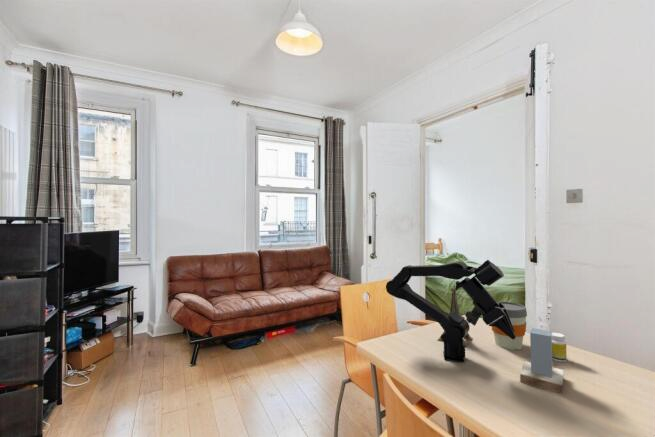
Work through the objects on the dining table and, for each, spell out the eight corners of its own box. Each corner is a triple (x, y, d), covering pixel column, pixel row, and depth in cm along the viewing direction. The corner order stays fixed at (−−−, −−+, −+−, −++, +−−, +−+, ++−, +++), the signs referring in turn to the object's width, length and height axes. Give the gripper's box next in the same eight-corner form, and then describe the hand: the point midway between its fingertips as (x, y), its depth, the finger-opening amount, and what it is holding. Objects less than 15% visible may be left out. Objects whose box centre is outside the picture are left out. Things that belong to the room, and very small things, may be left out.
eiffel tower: (472, 338, 123) (471, 277, 124) (464, 347, 115) (463, 281, 116) (446, 332, 130) (445, 274, 130) (437, 340, 122) (435, 278, 122)
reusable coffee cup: (527, 342, 119) (526, 303, 119) (528, 354, 108) (527, 312, 108) (491, 335, 126) (490, 299, 126) (488, 347, 115) (487, 307, 115)
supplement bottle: (569, 362, 102) (569, 337, 102) (553, 361, 103) (553, 336, 103) (561, 356, 106) (561, 332, 106) (546, 355, 107) (546, 331, 107)
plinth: (520, 381, 91) (520, 373, 91) (524, 368, 98) (524, 360, 98) (562, 393, 84) (562, 384, 84) (563, 378, 92) (563, 369, 92)
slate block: (531, 372, 91) (530, 332, 91) (532, 366, 95) (531, 327, 95) (551, 377, 88) (550, 336, 88) (552, 370, 92) (551, 331, 92)
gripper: (461, 303, 113) (492, 342, 106) (454, 310, 97) (490, 356, 90) (487, 286, 109) (521, 325, 103) (484, 290, 93) (524, 336, 87)
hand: (513, 335), depth 96 cm, fingers open, 9 cm apart
